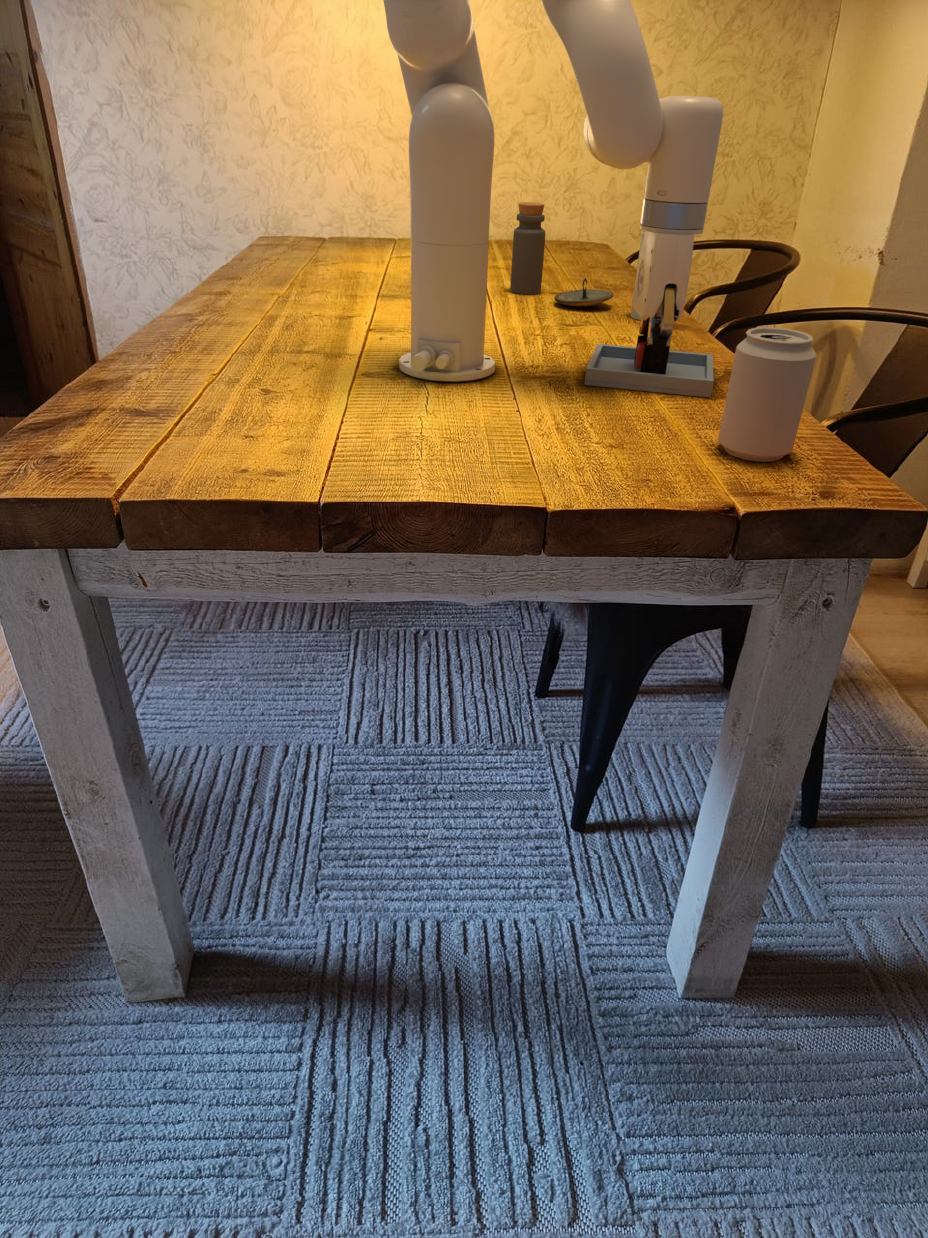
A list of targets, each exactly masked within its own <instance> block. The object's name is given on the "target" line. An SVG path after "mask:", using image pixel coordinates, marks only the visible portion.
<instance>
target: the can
mask: <svg viewBox="0 0 928 1238" xmlns="http://www.w3.org/2000/svg"><path fill="white" fill-rule="evenodd" d="M745 334H746V337H745V338H744V339H743V340H742V341H740V342H739V343H738V344H737V346H736V347H735V353H734V356H733V363H732V367H731V373H730V377H729V382H728V386H727V387H728V388H727V392H726V397H725V402H724V407H723V411H722V417H721V422H720V427H719V432H718V437H717V440H718V443H719V444H720V445H721V446H722V447H723V449H724V451H725V452H726V453H728V454H729V455H731V456H732V457H735V458H738V459H742V460H745V461H752V462H760V463H761V462H763V463H764V462H775V461H780V459H782V458H784V457H785V456H786V455H788V454H790V453H792V452H793V450H794V447H795V442H796V439H797V435H798V430H799V428H800V427H799V426H800V422H801V418H802V415H803V411H804V407H805V402H806V398H807V394H808V391H809V387H810V382H811V380H812V375H813V371H814V367H815V363H816V359H817V355H818V354H817V352H816V351H815V349H814V347H813V346H812V343H813V341H814V340H815V339H814V337H813V335H811V334H809V333H806V332H804V331H800V330H796V329H792V328H791V329H790V328H783V327H773V326H772V327H770V326H769V327H768V326H761V327H753V328H749V329H748V330H747V331H746V332H745Z"/></svg>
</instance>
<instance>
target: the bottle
mask: <svg viewBox="0 0 928 1238" xmlns="http://www.w3.org/2000/svg"><path fill="white" fill-rule="evenodd" d="M517 206H518V212H519V213H517V214H516V221H518V226H517V227H515V228H514V230H513V236H512V251H511V252H512V253H511V272H510V287H509V289H510V292H511V293H513V294H518V295H528V296H529V295H538V294H541V293H542V282H543V272H544V271H543V270H544V259H545V245H546V230H545V229H544V228H542V223H543V222H545V220H546V219H545V218H546V215H545V214H543V213H544V210H545V209H544V208H545V204H544V203H540V202H529V201H528V202H518V205H517Z"/></svg>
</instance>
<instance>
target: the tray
mask: <svg viewBox="0 0 928 1238" xmlns="http://www.w3.org/2000/svg"><path fill="white" fill-rule="evenodd" d="M636 347H637V346H627V345H626V346H625V345H617V344H606V343H605V344H604V343H597V344H596V347H595V349H594V351H593V353H592V355H591V356H590V360H589V362H588V364H587V366H586V368H585V377H584V385H585V386H591V387H598V388H599V387H600V388H611V389H619V390H620V389H621V390H629V391H639V392H649V393H660V394H668V395H669V394H670V395H679V396H689V397H699V398H707V399H708V398H709V399H711V397H712V393H713V389H714V382H715V375H714V354H712V353H703V352H691V351H682V350H669V356H668V362H667V368H666V374H665V375H664V374H654V373H644V372H640V369H639V368H637V367H635V365H634V360H635V353H636Z"/></svg>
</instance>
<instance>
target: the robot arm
mask: <svg viewBox="0 0 928 1238" xmlns="http://www.w3.org/2000/svg"><path fill="white" fill-rule="evenodd" d="M540 2H541V5H542V8H543V10H544V12H545V15H546V18H547V20H548V22H549V24H550V25H551V26H552V28H553V30H554V31H555V33H556V34H557V36H558V38H559V40H560V41H561V43H562V45H563V47H564V49H565V52H566V54H567V57H568V59H569V62H570V65H571V67H572V70H573V73H574V77H575V79H576V82H577V85H578V88H579V92H580V95H581V98H582V102H583V106H584V109H585V112H586V113H585V114H586V117H585V120H584V123H583V139H584V143H585V145H586V149H587V150H588V151H589V153H590V155H591V156H592V157H593V158H594V159H596V160H597V161H598V162H600V163H601V164H603V165H605V166H608V167H610V168H611V167H612V168H614V169H617V170H632V169H634V168H637V167H640V166H641V165H643V164H644V163H647V172H646V177H645V178H646V179H645V187H644V193H643V200H642V208H641V216H640V223H639V229H640V231H643V230H645V234H644V238H643V243H642V247H641V252H640V258H639V257H638V258H639V263H638V262H637V265H638V269H637V268H636V273H637V274H635V280H634V285H633V291H632V297H631V307H632V306H633V308H634V309H635V311H636V312H637V313H638V315H639V316H640V317H641V320H640V323H639V324H640V325H639V329H638V331H639V332H638V335H637V341H636V346H635V347H636V353H637V347H638V343H640V342H647V344H644V349H643V355H642V362H641V369H640V372H644V373H654V374H664V375H665V374H666V368H667V362H668V356H669V350H670V349H671V344H672V334H673V330H674V326H675V322H678V321H679V320H680V319H681V318H682V316H683V314H684V310H685V305H686V299H687V293H688V287H689V280H690V273H691V267H692V259H693V255H694V252H693V251H694V243H695V235H696V236H697V235H702V234H703V233H704V228H705V223H706V217H707V212H708V205H709V199H710V194H711V189H712V182H713V176H714V170H715V165H716V158H717V153H718V147H719V142H720V136H721V132H722V131H721V130H722V126H723V118H724V107H723V104H722V102H721V101H720V100H719V99H718V98H715V97H713V96H712V97H711V96H703V95H669V96H668V95H667V96H666V97H659V93H658V89H657V85H656V82H655V81H656V80H655V77H654V73H653V69H652V66H651V61H650V57H649V54H648V50H647V46H646V43H645V40H644V36H643V33H642V30H641V27H640V24H639V21H638V18H637V15H636V12H635V10H634V6H633V3H632V1H631V0H540ZM383 7H384V12H385V19H386V20H385V21H386V28H387V33H388V37H389V40H390V42H391V44H392V45H391V46H392V48H393V49H394V50H395V52H396V54H397V58H398V62H399V66H400V67H399V68H400V70H401V76H402V79H403V84H404V88H405V93H406V97H407V101H408V105H409V109H410V114H411V119H410V124H409V131H408V166H409V167H408V169H409V207H410V213H409V214H410V220H409V221H410V351H409V352H407V353H404V354H403V355H401V356H400V357H399V359H398V369H399V370H400V372H403V373H404V374H405V375H408V376H410V377H413V378H416V379H421V380H427V381H436V382H469V381H475V380H480V379H484V378H487V377H489V376H491V375H492V374H494V373H495V371H496V361H495V359H493V358H492V357H491V356H489V355H487V354H485V340H486V339H485V337H486V316H487V295H488V293H487V292H488V273H489V271H488V270H489V251H490V250H489V249H490V223H491V221H490V218H491V202H492V201H491V200H492V198H491V197H492V184H493V182H492V181H493V167H494V157H495V124H494V119H493V115H492V112H491V110H490V106H489V101H488V95H487V89H486V84H485V79H484V73H483V68H482V63H481V58H480V53H479V47H478V42H477V35H476V29H475V25H474V18H473V10H472V5H471V2H470V0H383ZM636 353H635V360H636ZM635 360H634V365H635Z"/></svg>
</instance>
